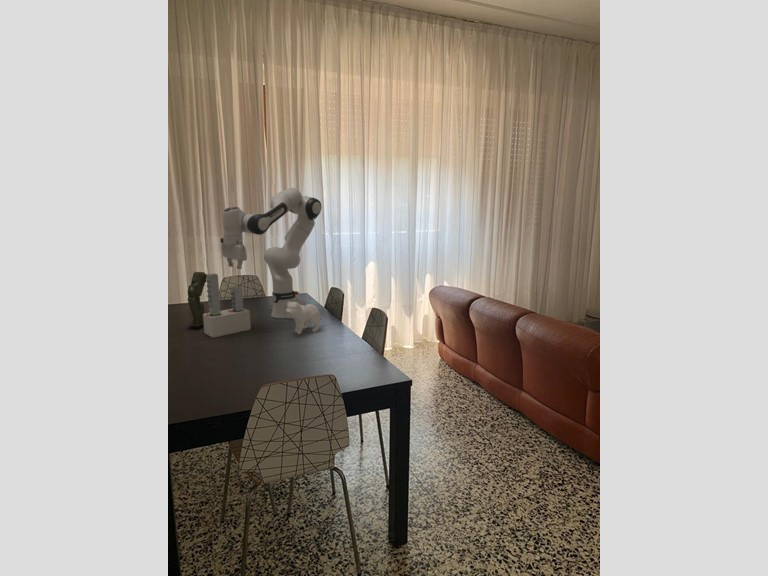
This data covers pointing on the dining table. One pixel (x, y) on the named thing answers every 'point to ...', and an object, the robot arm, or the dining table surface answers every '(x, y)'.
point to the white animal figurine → (303, 315)
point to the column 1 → (213, 295)
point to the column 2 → (237, 299)
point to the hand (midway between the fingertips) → (235, 267)
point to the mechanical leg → (196, 299)
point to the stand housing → (226, 323)
